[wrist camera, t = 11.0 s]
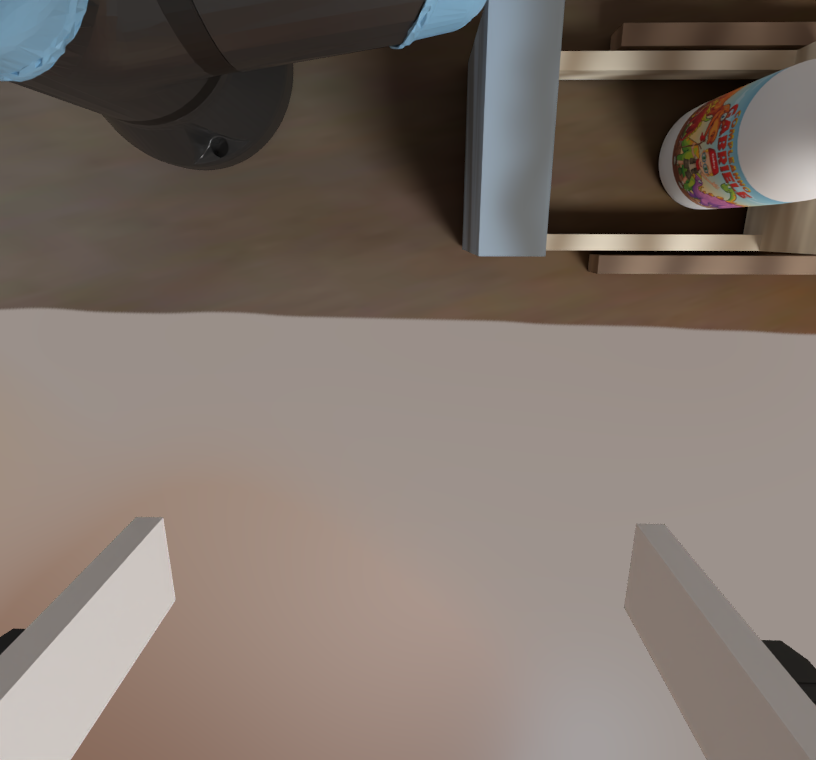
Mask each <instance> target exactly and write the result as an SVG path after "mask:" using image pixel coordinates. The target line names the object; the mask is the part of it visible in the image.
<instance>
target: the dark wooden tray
mask: <svg viewBox="0 0 816 760" xmlns="http://www.w3.org/2000/svg"><path fill="white" fill-rule="evenodd" d="M815 41H816V22H696V23H623V24H622V25H621V26H620V27H619V28H618V29H617V30H616V31H615V32H614V33H613V34H612V35H611V43H610V51H706V50H798V49H801V48H803V47H805V46H807V45H809V44H811V43H813V42H815ZM588 271H589V272H593V273H597V274H810V275H816V255H709V254H589V264H588Z"/></svg>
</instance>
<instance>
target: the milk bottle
mask: <svg viewBox="0 0 816 760" xmlns="http://www.w3.org/2000/svg"><path fill="white" fill-rule="evenodd" d="M659 174H660V178H661V182H662V184H663V186H664V188H665V190H666V192H667V193H668V194H669V195H670V197H671V198H672V199H674V200H675V201H676V202H678V203H679V204H681V205H683V206H685V207H688V208H692V209H722V208H736V207H750V206H762V205H774V204H784V203H792V202H799V201H807V200H812V199H816V59H812V60H808V61H804V62H802V63H799V64H796V65H794V66H791V67H788V68H786V69H783V70H780V71H778V72H775V73H773V74H771V75H768V76H766V77H764V78H761V79H759V80H756V81H754V82H752V83H749V84H747V85H745V86H743V87H740V88H738V89H736V90H733V91H731V92H729V93H727V94H724V95H722V96H720V97H718V98H715V99H713V100H711V101H709V102H706V103H704V104H702V105H700V106H698V107H696V108H694V109H692V110H691V111H689V112H687V113H686V114H685V115H683V116H682V117H681V118H680V119H679V120H678V121H677V122H676V123H675V124H674V125H673V126H672V128H671V129H670V131H669V132H668V134H667V135H666V137H665V139H664V142H663V144H662V147H661V151H660V155H659Z"/></svg>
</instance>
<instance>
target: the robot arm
mask: <svg viewBox="0 0 816 760" xmlns="http://www.w3.org/2000/svg"><path fill="white" fill-rule="evenodd" d="M486 1H487V0H0V81H9V82H12V83H15V84H18V85H20V86H23V87H26V88H29V89H32V90H35V91H38V92H40V93H43V94H46V95H49V96H52V97H55V98H57V99H60V100H63V101H66V102H69V103H72V104H74V105H77V106H80V107H83V108H86V109H89V110H91V111H94V112H97V113H100V114H102V115H103V116H104V117H105V118H106V120H107V121H108V122H109V123H110V124H111V125H112V126H113V127H114V129H115V130H116V131H117V132H118V133H119V134H120V135H121V136H123V137H124V138H125V139H126V140H127V141H128V142H130V143H131V144H132V145H134V146H135V147H136V148H138V149H139V150H141V151H143V152H144V153H146V154H148V155H150V156H152V157H153V158H156V159H158V160H160V161H163V162H166V163H169V164H173V165H176V166H180V167H184V168H189V169H195V170H215V169H222V168H226V167H230V166H233V165H235V164H238V163H240V162H242V161H244V160H246V159H248V158H249V157H251V156H252V155H254V154H255V153H256V152H258V151H259V150H260V149H261V148H262V147H263V146H264V145H265V144H266V143H267V142H268V141H269V140H270V139H271V137H272V136H273V135H274V133H275V132H276V130H277V129H278V127H279V125H280V123H281V121H282V119H283V117H284V115H285V112H286V110H287V107H288V104H289V100H290V96H291V91H292V83H293V63H296V62H302V61H308V60H313V59H319V58H325V57H330V56H336V55H342V54H347V53H353V52H358V51H364V50H370V49H375V48H381V47H387V46H389V47H390V48H392V49H402V48H404V46H407V45H410V44H411V43H412V42H413V41H415V40H419V39H423V38H428V37H432V36H436V35H440V34H445V33H449V32H453V31H456V30H458V29H460V28H462V27H463V26H465V25H466V24H467V23H468V22H470V21H471V19H472V18H473V17H475V16H476V15H477V14H478V13H479V12H480V11H481V9H482V8H483V6H484V4H485V3H486ZM174 601H175V593H174V587H173V580H172V573H171V567H170V560H169V553H168V546H167V540H166V533H165V528H164V520H163V517H136V518H135V519H134V520H133V521H132V522H131V523H130V524H129V525H128V526H127V527H126V528H125V529H124V530H123V531H122V532H121V533H120V534H119V535H118V536H117V537H116V538H115V539H114V540H113V541H112V542H111V543H110V544H109V545H108V546H107V547H106V548H105V549H104V550H103V551H102V552H101V553H100V554H99V555H98V556H97V557H96V558H95V559H94V560H93V561H92V562H91V563H90V564H89V565H88V566H87V567H86V568H85V569H84V570H83V572H81V574H80V575H79V576H78V577H77V578H76V579H75V580H74V581H73V582H72V583H71V584H70V585H69V586H68V587H67V588H66V589H65V590H64V591H63V592H62V593H61V594H60V595H59V596H58V597H57V598H56V599H55V600H54V601H53V602H52V603H51V604H50V605H49V606H48V607H47V608H46V609H45V610H44V611H43V612H42V613H41V614H40V615H39V616H38V617H37V618H36V619H35V620H34V621H33V622H32V623H31V624H30V625H29V626H28V627H27V628H26V629H12V630H11V631H9V632H8V633H6V634H4V635H3V636H1V637H0V760H71V758H72V757H73V755H74V754H75V752H76V751H77V749H78V748H79V746H80V745H81V743H82V742H83V740H84V738H85V737H86V736H87V734H88V732H89V731H90V729H91V728H92V726H93V725H94V723H95V722H96V720H97V719H98V717H99V716H100V714H101V713H102V711H103V710H104V708H105V707H106V705H107V704H108V702H109V701H110V699H111V697H112V696H113V694H114V693H115V691H116V690H117V688H118V687H119V685H120V684H121V682H122V681H123V679H124V677H125V676H126V675H127V673H128V672H129V670H130V669H131V667H132V665H133V664H134V662H135V661H136V659H137V658H138V656H139V655H140V653H141V652H142V650H143V649H144V647H145V646H146V644H147V643H148V641H149V640H150V638H151V637H152V635H153V633H154V632H155V631H156V629H157V627H158V626H159V624H160V623H161V621H162V620H163V618H164V617H165V615H166V614H167V612H168V611H169V609H170V608H171V606H172V605H173V603H174ZM624 608H625V610H626V612H627V614H628V615H629V617H630V619H631V621H632V623H633V625H634V627H635V628H636V630H637V632H638V634H639V636H640V638H641V639H642V641H643V643H644V645H645V647H646V649H647V651H648V652H649V654H650V656H651V658H652V660H653V662H654V663H655V665H656V667H657V669H658V671H659V672H660V674H661V676H662V678H663V680H664V682H665V684H666V686H667V687H668V689H669V691H670V693H671V695H672V696H673V698H674V700H675V702H676V704H677V706H678V708H679V709H680V711H681V713H682V715H683V717H684V719H685V721H686V722H687V724H688V726H689V728H690V730H691V732H692V733H693V735H694V737H695V739H696V741H697V743H698V744H699V746H700V748H701V750H702V752H703V754H704V755H705V757H706V759H707V760H816V669H815V667H814V666H813V665H812V664H811V663H810V662H809V661H808V660H807V659H806V658H804V657H803V656H801V655H800V654H799V653H797V652H796V651H795V650H793V649H792V648H790V647H789V646H787V645H786V644H785V643H783V642H782V641H771V640H761V639H760V638H759V637H758V636H757V635H756V633H755V632H754V631H753V630H752V629H751V627H750V626H749V625H748V624H747V623H746V621H745V620H744V619H743V618H742V617H741V615H740V614H739V613H738V612H737V611H736V610H735V608H734V607H733V606H732V605H731V604H730V602H729V601H728V600H727V599H726V598H725V596H724V595H723V594H722V593H721V591H720V590H719V589H718V588H717V587H716V586H715V584H714V583H713V582H712V581H711V579H710V578H709V577H708V576H707V575H706V573H705V572H704V571H703V570H702V569H701V567H700V566H699V565H698V564H697V563H696V562H695V560H694V559H693V558H692V557H691V556H690V554H689V553H688V552H687V551H686V549H685V548H684V547H683V546H682V545H681V543H680V542H679V541H678V540H677V539H676V538H675V536H674V535H673V534H672V533H671V531H670V530H669V529H668V528H667V527H666V525H665V524H636V530H635V536H634V543H633V550H632V556H631V563H630V571H629V577H628V584H627V591H626V598H625V605H624Z"/></svg>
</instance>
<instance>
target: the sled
mask: <svg viewBox="0 0 816 760" xmlns="http://www.w3.org/2000/svg"><path fill="white" fill-rule="evenodd" d="M564 5H565V0H487V1H486V3H485V7H484V10H483V13H482V17H481V20H480V24H479V27H478V30H477V34H476V37H475V41H474V44H473V47H472V51H471V54H470V58H469V61H468V84H467V116H466V148H465V180H464V212H463V244H462V249H464V250H466V251H468V252H470V253H473V254H475V255H477V256H545V255H546V250H625V251H768V252H784V253H800V254H816V199H812V200H807V201H799V202H792V203H784V204H774V205H762V206H750V207H748V210H747V215H746V221H745V226H744V232H743V234H547V228H548V215H549V202H550V189H551V176H552V163H553V149H554V136H555V123H556V110H557V97H558V84H559V80H668V79H761V78H764V77H766V76H768V75H771V74H773V73H775V72H778V71H780V70H783V69H786V68H788V67H791V66H794V65H796V64H799V63H802V62H804V61H808V60H812V59H816V41H815V42H813V43H811V44H809V45H807V46H805V47H803V48H801V49H798V50H706V51H561V44H562V31H563V18H564Z"/></svg>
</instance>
